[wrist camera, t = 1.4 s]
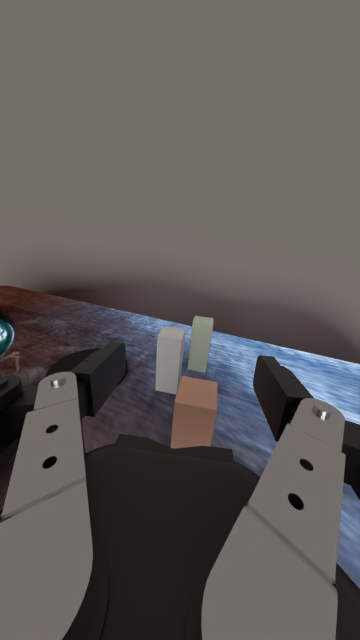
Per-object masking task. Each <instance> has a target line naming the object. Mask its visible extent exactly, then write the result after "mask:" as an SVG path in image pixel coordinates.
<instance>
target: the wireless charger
mask: <svg viewBox="0 0 360 640" xmlns="http://www.w3.org/2000/svg"><path fill="white" fill-rule="evenodd" d="M98 350H100V349H89V350H83V351H79V352H76V353H73V354H70V355H68V356H66V357H64V358H62V359H60V360H59V361H57V362H56V363H55V364H54V365H52V366H51V368H50V369H49V370H48V372H47V375H46V377H47V376H49V375H52V374H55V373H59V372H70V371H71V370H72V369H73V368H75V367H76V366H77V365H78V364H80V363H81V362H82V361H84V360H85V359H86V358H87V357H88V356H90V355H91V354H92V353H93V352H95V351H98ZM126 373H127V361H126V370H125V374H124V376H123V377H122V379H121V380H120V381H119V383H118V384H117V385H119V384H120V383H121V382H122V380H123V379H124V378H125V376H126Z"/></svg>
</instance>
